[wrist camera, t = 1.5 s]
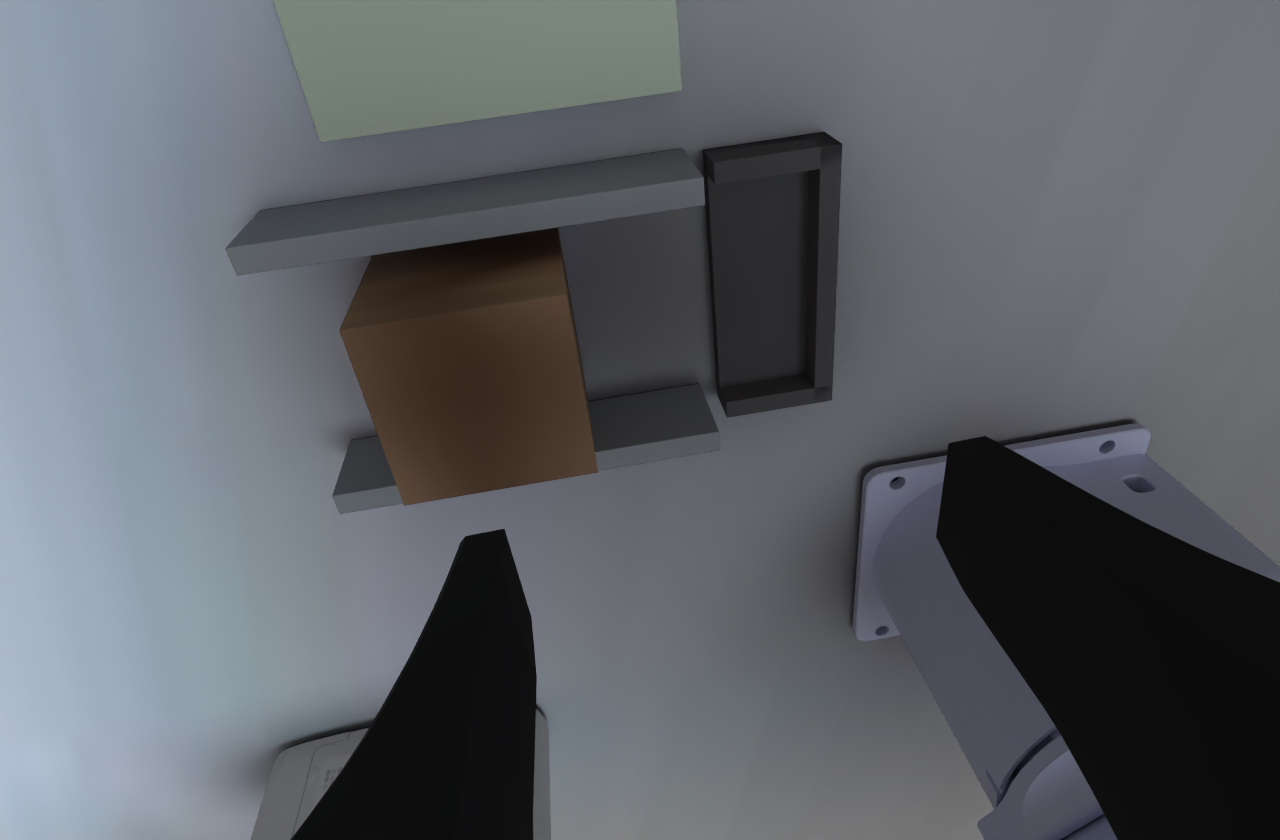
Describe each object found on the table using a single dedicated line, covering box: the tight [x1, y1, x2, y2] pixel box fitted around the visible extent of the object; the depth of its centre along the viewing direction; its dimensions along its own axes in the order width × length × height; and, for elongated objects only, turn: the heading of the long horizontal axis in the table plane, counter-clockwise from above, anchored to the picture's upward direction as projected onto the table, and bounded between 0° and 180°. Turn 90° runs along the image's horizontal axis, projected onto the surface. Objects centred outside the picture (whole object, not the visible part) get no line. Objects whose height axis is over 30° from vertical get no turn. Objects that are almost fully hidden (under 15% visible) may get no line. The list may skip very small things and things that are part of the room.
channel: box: [225, 149, 720, 514], centre depth 19 cm, size 10×7×2 cm
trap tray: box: [703, 132, 842, 417], centre depth 20 cm, size 3×7×1 cm, turn 6°
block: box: [339, 227, 598, 505], centre depth 18 cm, size 4×4×4 cm
